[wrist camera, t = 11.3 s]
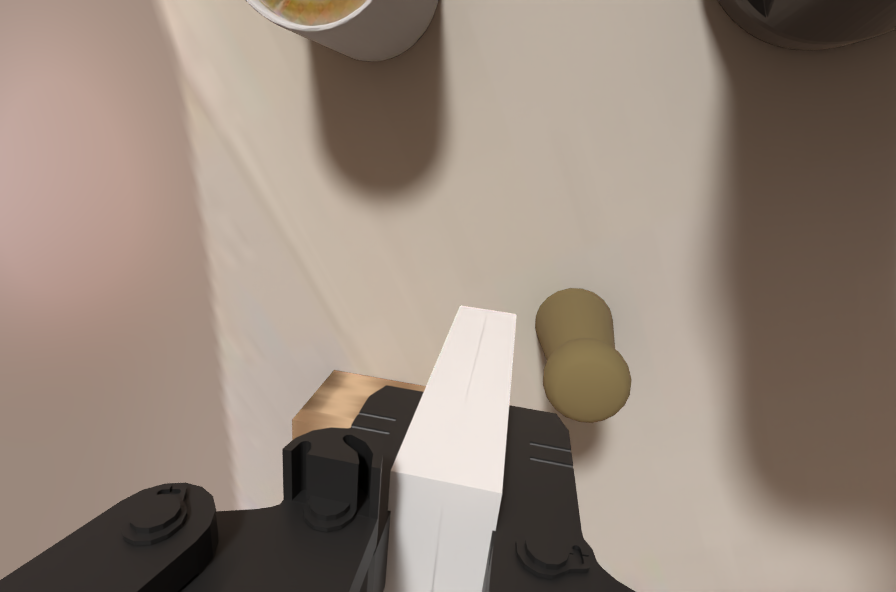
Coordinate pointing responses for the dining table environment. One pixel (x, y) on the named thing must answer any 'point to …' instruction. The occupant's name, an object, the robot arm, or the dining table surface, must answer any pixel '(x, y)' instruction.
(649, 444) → the dining table surface
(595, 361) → the cork
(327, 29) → the coffee mug
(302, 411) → the oak shelf
